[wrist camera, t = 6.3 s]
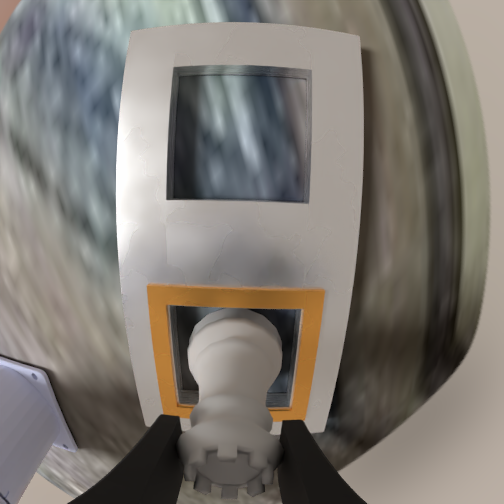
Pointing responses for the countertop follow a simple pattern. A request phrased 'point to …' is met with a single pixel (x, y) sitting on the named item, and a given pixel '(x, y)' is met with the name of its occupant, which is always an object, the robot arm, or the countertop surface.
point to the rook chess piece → (232, 404)
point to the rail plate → (239, 212)
